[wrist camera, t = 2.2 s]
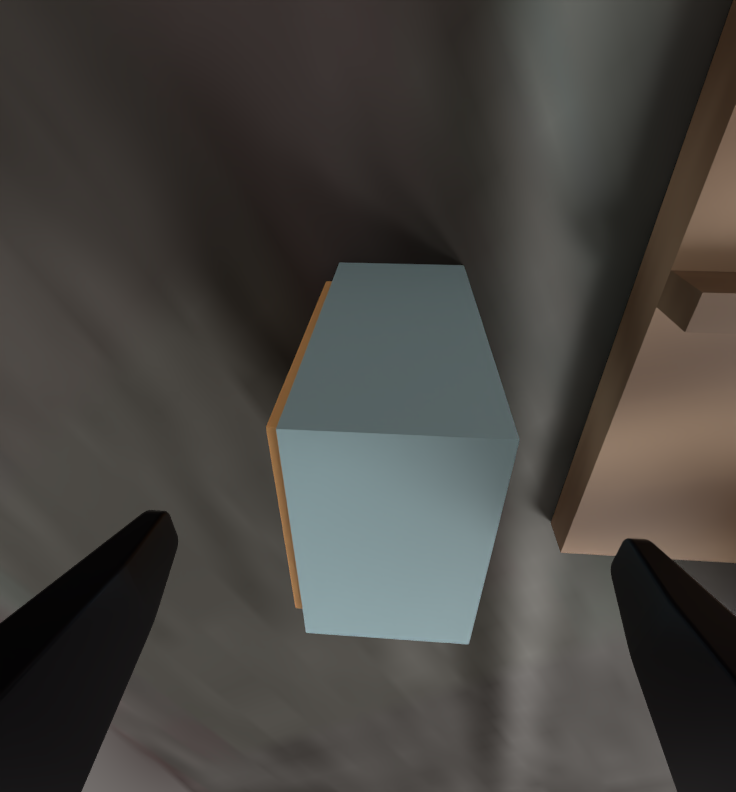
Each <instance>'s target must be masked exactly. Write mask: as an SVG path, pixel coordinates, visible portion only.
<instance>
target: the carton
mask: <svg viewBox="0 0 736 792" xmlns="http://www.w3.org/2000/svg"><path fill="white" fill-rule="evenodd" d="M266 430H267V436H268V443H269V449H270V455H271V461H272V467H273V473H274V479H275V485H276V491H277V497H278V503H279V510H280V516H281V522H282V528H283V534H284V540H285V546H286V552H287V558H288V564H289V571H290V577H291V583H292V589H293V595H294V601H295V607H296V608H302V609H303V614H304V621H305V628H306V633H317V634H331V635H345V636H359V637H373V638H387V639H401V640H415V641H429V642H443V643H458V644H469V641H470V637H471V633H472V629H473V625H474V621H475V617H476V613H477V609H478V605H479V601H480V597H481V593H482V589H483V585H484V581H485V577H486V573H487V569H488V565H489V561H490V557H491V553H492V549H493V545H494V541H495V537H496V533H497V529H498V525H499V521H500V517H501V513H502V509H503V505H504V501H505V497H506V493H507V489H508V485H509V481H510V477H511V473H512V469H513V465H514V461H515V457H516V453H517V449H518V445H519V441H520V439H519V436H518V433H517V430H516V427H515V424H514V421H513V417H512V414H511V411H510V408H509V405H508V402H507V399H506V396H505V392H504V389H503V386H502V383H501V380H500V377H499V374H498V371H497V367H496V364H495V361H494V358H493V355H492V352H491V349H490V346H489V343H488V339H487V336H486V333H485V330H484V327H483V324H482V321H481V318H480V314H479V311H478V308H477V305H476V302H475V299H474V296H473V293H472V289H471V286H470V283H469V280H468V277H467V274H466V271H465V268H464V265H430V264H387V263H343V262H339V265H338V267H337V270H336V273H335V275H334V278H333V280H332V281H326V283H325V285H324V288H323V290H322V292H321V295H320V297H319V300H318V302H317V305H316V307H315V309H314V312H313V314H312V317H311V319H310V321H309V324H308V326H307V329H306V331H305V334H304V336H303V338H302V341H301V343H300V346H299V348H298V351H297V353H296V355H295V358H294V360H293V363H292V365H291V368H290V370H289V372H288V375H287V377H286V380H285V382H284V385H283V387H282V389H281V392H280V394H279V397H278V399H277V402H276V404H275V406H274V409H273V411H272V414H271V416H270V419H269V421H268V423H267V426H266Z"/></svg>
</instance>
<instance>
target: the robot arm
mask: <svg viewBox="0 0 736 792" xmlns="http://www.w3.org/2000/svg"><path fill="white" fill-rule="evenodd" d="M177 546H178V536H177V533H176V530H175V528H174V525H173V522H172V520H171V517H170V515H169V513H167V512H166V511H156V510H148V511H146V512H144V513H142V514H141V515H140V516H138V517H137V518H136V519H134V520H133V521H132V522H130V523H129V524H128V525H127V526H125V527H124V528H123V529H121V530H120V531H119V532H118V533H116V534H115V535H114V536H112V537H111V538H110V539H108V540H107V541H106V542H105V543H103V544H102V545H101V546H99V547H98V548H97V549H96V550H94V551H93V552H92V553H90V554H89V555H88V556H87V557H85V558H84V559H83V560H81V561H80V562H79V563H77V564H76V565H75V566H74V567H72V568H71V569H70V570H68V571H67V572H66V573H65V574H63V575H62V576H61V577H59V578H58V579H57V580H55V581H54V582H53V583H52V584H50V585H49V586H48V587H46V588H45V589H44V590H43V591H41V592H40V593H39V594H37V595H36V596H35V597H33V598H32V599H31V600H30V601H28V602H27V603H26V604H24V605H23V606H22V607H21V608H19V609H18V610H17V611H15V612H14V613H13V614H11V615H10V616H9V617H8V618H6V619H5V620H4V621H2V622H1V623H0V792H81V791H82V789H83V787H84V784H85V782H86V780H87V777H88V775H89V773H90V770H91V768H92V766H93V763H94V761H95V759H96V756H97V754H98V752H99V749H100V747H101V744H102V742H103V740H104V738H105V735H106V733H107V731H108V728H109V726H110V724H111V721H112V719H113V717H114V714H115V712H116V710H117V707H118V705H119V703H120V700H121V698H122V696H123V693H124V691H125V689H126V686H127V684H128V682H129V679H130V677H131V675H132V672H133V670H134V668H135V665H136V663H137V661H138V658H139V656H140V654H141V651H142V649H143V647H144V644H145V642H146V640H147V637H148V635H149V633H150V630H151V628H152V625H153V623H154V620H155V617H156V614H157V611H158V608H159V605H160V602H161V598H162V595H163V592H164V589H165V586H166V582H167V579H168V576H169V573H170V570H171V566H172V563H173V560H174V557H175V554H176V550H177ZM611 576H612V581H613V585H614V589H615V593H616V598H617V602H618V606H619V610H620V615H621V619H622V623H623V627H624V632H625V636H626V640H627V644H628V648H629V652H630V656H631V659H632V662H633V665H634V668H635V671H636V674H637V677H638V680H639V683H640V686H641V689H642V691H643V694H644V697H645V700H646V703H647V706H648V709H649V712H650V715H651V717H652V720H653V723H654V726H655V729H656V732H657V735H658V738H659V740H660V743H661V746H662V749H663V752H664V755H665V758H666V761H667V763H668V766H669V769H670V772H671V775H672V778H673V781H674V784H675V786H676V789H677V792H736V616H735V615H733V614H732V613H731V612H730V611H729V610H728V609H727V608H726V607H724V606H723V605H722V604H721V603H720V602H719V601H718V600H717V599H715V598H714V597H713V596H712V595H711V594H710V593H709V592H708V591H707V590H705V589H704V588H703V587H702V586H701V585H700V584H699V583H698V582H696V581H695V580H694V579H693V578H692V577H691V576H690V575H689V574H687V573H686V572H685V571H684V570H683V569H682V568H681V567H680V566H679V565H677V564H676V563H675V562H674V561H673V560H672V559H671V558H670V557H668V556H667V555H666V554H665V553H664V552H663V551H662V550H661V549H659V548H658V547H657V546H656V545H655V544H654V543H653V542H651V541H649V540H647V539H637V538H627V539H625V540H623V542H622V544H621V546H620V548H619V550H618V552H617V554H616V556H615V558H614V560H613V562H612V565H611Z"/></svg>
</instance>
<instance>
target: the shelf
mask: <svg viewBox="0 0 736 792" xmlns="http://www.w3.org/2000/svg"><path fill="white" fill-rule="evenodd" d="M551 525H552V528H553V531H554V534H555V537H556V540H557V543H558V546H559V549H560V552H561V553H575V554H592V555H609V556H616V554H617V552H618V550H619V548H620V546H621V544H622V542H623V540H625V539H627V538H637V539H647V540H649V541H651V542H653V543H654V544H655V545H656V546H657V547H658V548H659V549H661V550H662V551H663V552H664V553H665V554H666V555H667V556H668V557H670V558H671V559H677V560H694V561H711V562H728V563H736V0H733V2H732V5H731V8H730V11H729V14H728V16H727V19H726V22H725V25H724V28H723V31H722V34H721V37H720V39H719V42H718V45H717V48H716V51H715V54H714V57H713V59H712V62H711V65H710V68H709V71H708V74H707V77H706V79H705V82H704V85H703V88H702V91H701V94H700V97H699V100H698V102H697V105H696V108H695V111H694V114H693V117H692V120H691V122H690V125H689V128H688V131H687V134H686V137H685V140H684V143H683V145H682V148H681V151H680V154H679V157H678V160H677V163H676V165H675V168H674V171H673V174H672V177H671V180H670V183H669V186H668V188H667V191H666V194H665V197H664V200H663V203H662V206H661V208H660V211H659V214H658V217H657V220H656V223H655V226H654V228H653V231H652V234H651V237H650V240H649V243H648V246H647V249H646V251H645V254H644V257H643V260H642V263H641V266H640V269H639V271H638V274H637V277H636V280H635V283H634V286H633V289H632V292H631V294H630V297H629V300H628V303H627V306H626V309H625V312H624V314H623V317H622V320H621V323H620V326H619V329H618V332H617V335H616V337H615V340H614V343H613V346H612V349H611V352H610V355H609V357H608V360H607V363H606V366H605V369H604V372H603V375H602V377H601V380H600V383H599V386H598V389H597V392H596V395H595V398H594V400H593V403H592V406H591V409H590V412H589V415H588V418H587V420H586V423H585V426H584V429H583V432H582V435H581V438H580V441H579V443H578V446H577V449H576V452H575V455H574V458H573V461H572V463H571V466H570V469H569V472H568V475H567V478H566V481H565V484H564V486H563V489H562V492H561V495H560V498H559V501H558V504H557V506H556V509H555V512H554V515H553V518H552V521H551Z"/></svg>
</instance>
